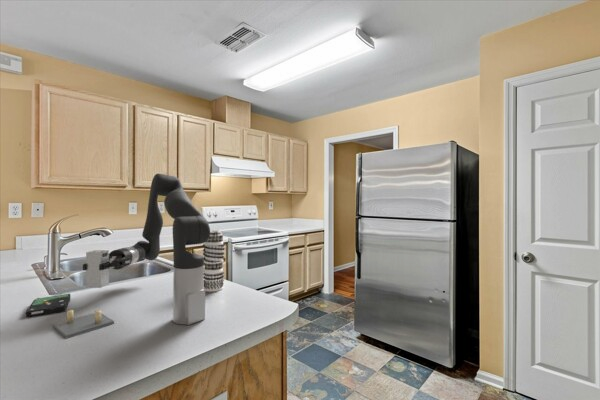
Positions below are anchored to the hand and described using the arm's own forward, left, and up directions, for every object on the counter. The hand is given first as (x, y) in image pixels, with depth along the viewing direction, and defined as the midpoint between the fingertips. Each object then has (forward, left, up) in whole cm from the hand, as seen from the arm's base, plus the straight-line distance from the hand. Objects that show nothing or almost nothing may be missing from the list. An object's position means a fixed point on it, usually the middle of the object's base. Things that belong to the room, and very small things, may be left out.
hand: (92, 267), depth 97 cm
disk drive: (+18, +7, -16) cm, 25 cm away
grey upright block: (+1, -2, -7) cm, 8 cm away
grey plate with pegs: (-8, +5, -16) cm, 18 cm away
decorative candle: (-9, -42, -16) cm, 46 cm away
